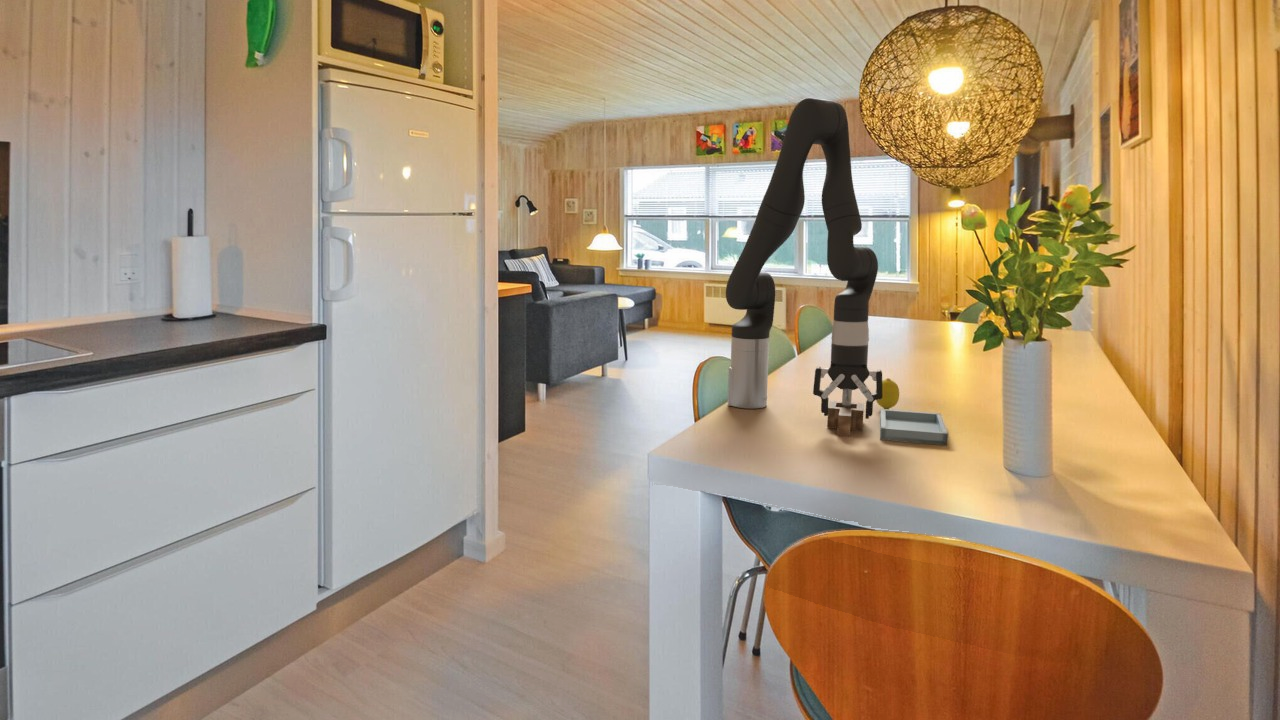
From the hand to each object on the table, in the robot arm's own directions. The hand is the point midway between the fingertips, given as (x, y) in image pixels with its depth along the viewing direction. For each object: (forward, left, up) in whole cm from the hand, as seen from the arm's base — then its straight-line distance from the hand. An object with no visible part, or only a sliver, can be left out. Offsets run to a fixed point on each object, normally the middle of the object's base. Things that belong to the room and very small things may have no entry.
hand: (846, 416), depth 159 cm
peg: (0, +7, -4) cm, 8 cm away
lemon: (+9, +25, -4) cm, 27 cm away
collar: (0, +4, -4) cm, 6 cm away
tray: (+14, +6, -4) cm, 16 cm away
